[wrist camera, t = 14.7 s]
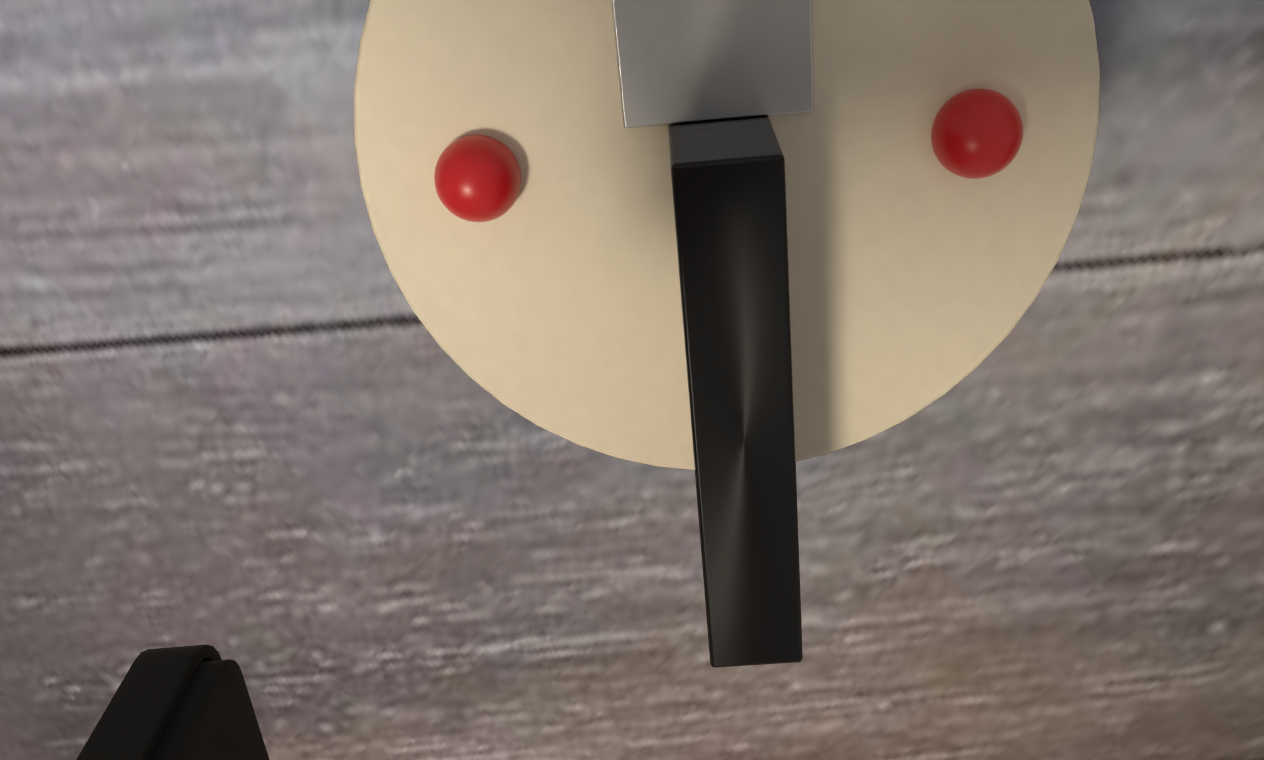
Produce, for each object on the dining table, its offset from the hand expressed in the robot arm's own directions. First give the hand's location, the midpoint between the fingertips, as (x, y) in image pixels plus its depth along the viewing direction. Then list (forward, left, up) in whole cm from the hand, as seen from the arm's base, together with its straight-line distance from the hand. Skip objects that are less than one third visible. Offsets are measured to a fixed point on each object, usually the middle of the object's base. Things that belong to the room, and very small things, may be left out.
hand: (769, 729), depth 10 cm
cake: (-2, 0, -16) cm, 16 cm away
